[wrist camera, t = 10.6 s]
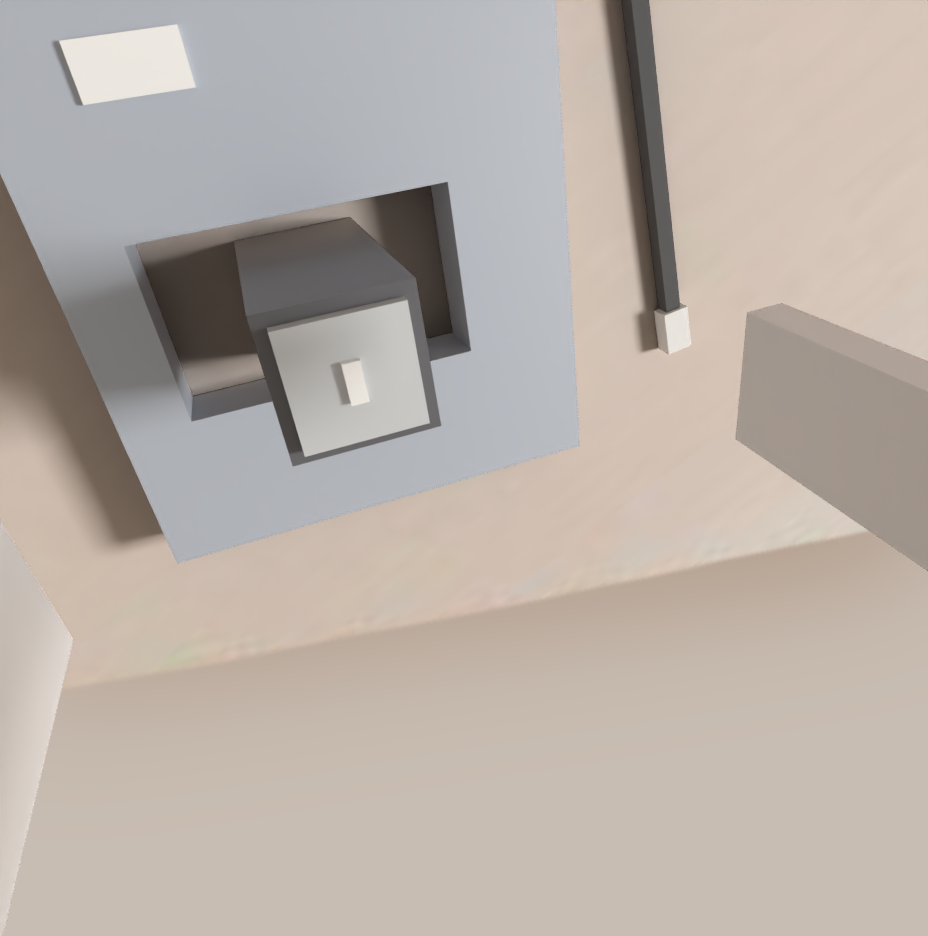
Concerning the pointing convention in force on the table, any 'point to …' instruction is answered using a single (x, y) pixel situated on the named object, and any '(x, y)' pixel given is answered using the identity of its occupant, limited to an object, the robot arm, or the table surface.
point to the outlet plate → (287, 191)
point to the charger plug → (337, 338)
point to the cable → (655, 176)
